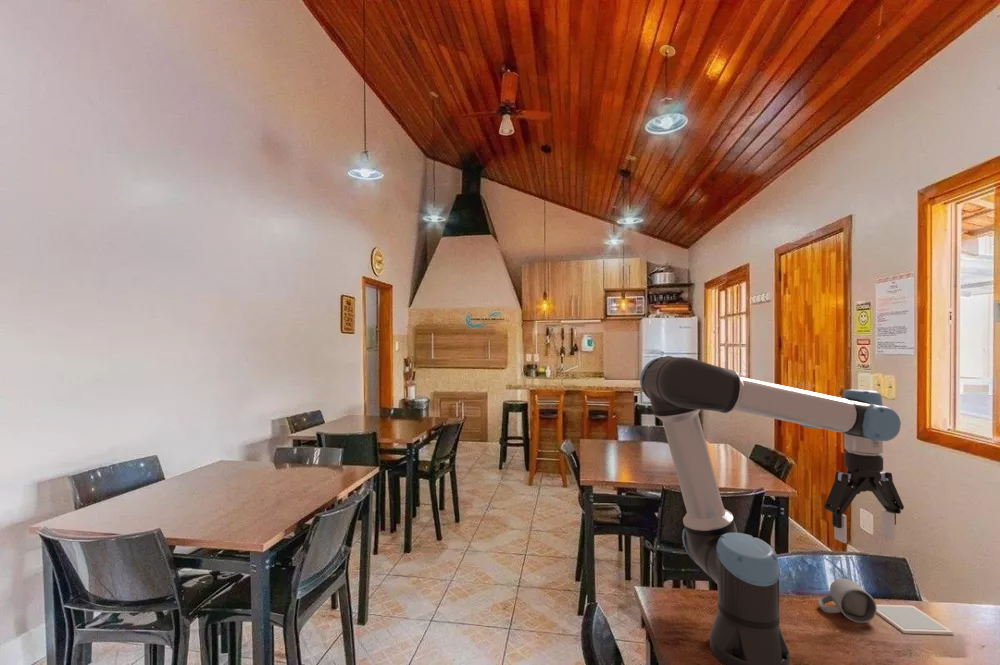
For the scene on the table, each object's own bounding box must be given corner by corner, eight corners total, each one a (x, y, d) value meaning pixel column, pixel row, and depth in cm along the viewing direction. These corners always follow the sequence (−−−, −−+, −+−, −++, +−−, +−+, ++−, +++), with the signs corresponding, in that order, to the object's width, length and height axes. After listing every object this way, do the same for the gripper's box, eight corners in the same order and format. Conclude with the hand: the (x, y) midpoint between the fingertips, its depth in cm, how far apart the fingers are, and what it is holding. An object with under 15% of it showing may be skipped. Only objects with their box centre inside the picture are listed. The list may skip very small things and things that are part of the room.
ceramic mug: (861, 607, 117) (859, 576, 117) (878, 625, 109) (876, 592, 109) (813, 601, 120) (812, 571, 120) (826, 619, 112) (825, 587, 112)
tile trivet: (903, 633, 106) (903, 630, 106) (867, 606, 117) (867, 604, 117) (953, 634, 106) (953, 631, 106) (912, 607, 117) (912, 605, 117)
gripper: (832, 457, 109) (833, 548, 108) (922, 454, 113) (923, 543, 112) (806, 450, 116) (807, 535, 115) (891, 448, 120) (892, 531, 119)
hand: (864, 539), depth 114 cm, fingers open, 13 cm apart
